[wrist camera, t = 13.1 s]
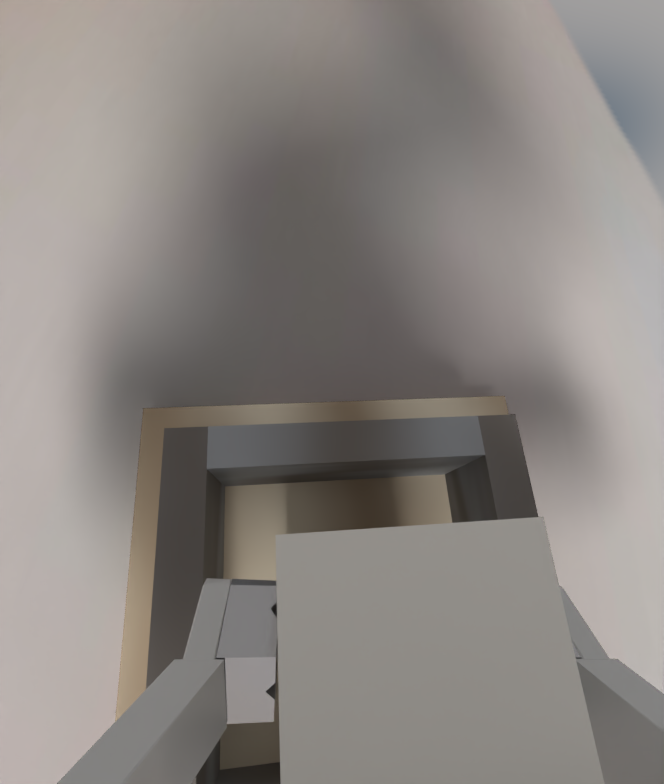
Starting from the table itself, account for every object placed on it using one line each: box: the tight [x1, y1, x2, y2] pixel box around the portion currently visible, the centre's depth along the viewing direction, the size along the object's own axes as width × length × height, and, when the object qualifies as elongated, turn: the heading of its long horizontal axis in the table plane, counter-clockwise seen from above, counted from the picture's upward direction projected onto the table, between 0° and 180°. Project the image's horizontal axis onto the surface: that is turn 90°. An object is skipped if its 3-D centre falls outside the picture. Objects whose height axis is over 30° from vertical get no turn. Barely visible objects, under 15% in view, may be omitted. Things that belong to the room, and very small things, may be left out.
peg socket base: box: [115, 396, 538, 784], centre depth 13 cm, size 14×14×4 cm
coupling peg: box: [275, 517, 604, 784], centre depth 9 cm, size 4×4×8 cm
